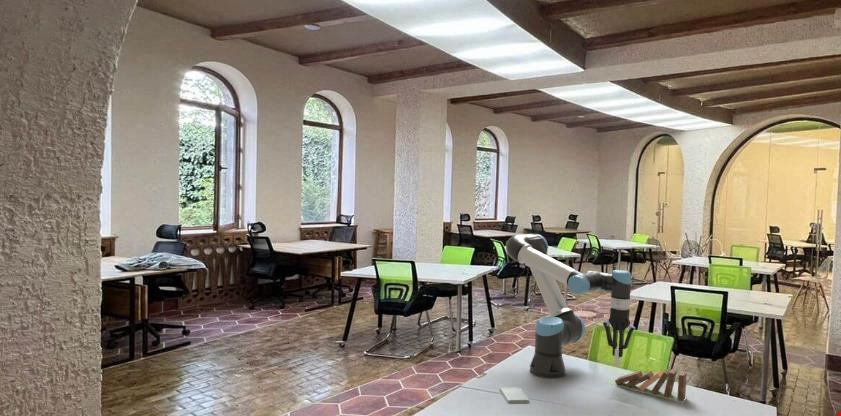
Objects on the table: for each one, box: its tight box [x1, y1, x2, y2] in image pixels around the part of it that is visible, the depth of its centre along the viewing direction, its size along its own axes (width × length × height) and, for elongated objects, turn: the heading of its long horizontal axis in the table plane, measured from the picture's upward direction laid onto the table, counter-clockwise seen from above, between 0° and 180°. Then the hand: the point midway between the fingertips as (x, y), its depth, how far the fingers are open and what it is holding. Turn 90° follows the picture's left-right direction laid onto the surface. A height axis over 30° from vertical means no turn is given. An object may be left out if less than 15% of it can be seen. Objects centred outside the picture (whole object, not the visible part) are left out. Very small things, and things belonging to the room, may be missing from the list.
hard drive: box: [499, 387, 530, 404], centre depth 204 cm, size 2×8×12 cm
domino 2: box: [627, 370, 655, 388], centre depth 216 cm, size 2×5×10 cm
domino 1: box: [615, 370, 643, 385], centre depth 218 cm, size 2×5×10 cm
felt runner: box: [607, 377, 688, 404], centre depth 215 cm, size 29×8×1 cm, turn 52°
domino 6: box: [677, 371, 688, 402], centre depth 206 cm, size 2×5×10 cm, turn 142°
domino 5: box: [664, 368, 678, 398], centre depth 209 cm, size 2×5×10 cm, turn 142°
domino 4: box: [651, 368, 671, 394], centre depth 211 cm, size 2×5×10 cm, turn 142°
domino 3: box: [639, 369, 664, 391], centre depth 213 cm, size 2×5×10 cm
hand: (617, 363), depth 221 cm, fingers closed
